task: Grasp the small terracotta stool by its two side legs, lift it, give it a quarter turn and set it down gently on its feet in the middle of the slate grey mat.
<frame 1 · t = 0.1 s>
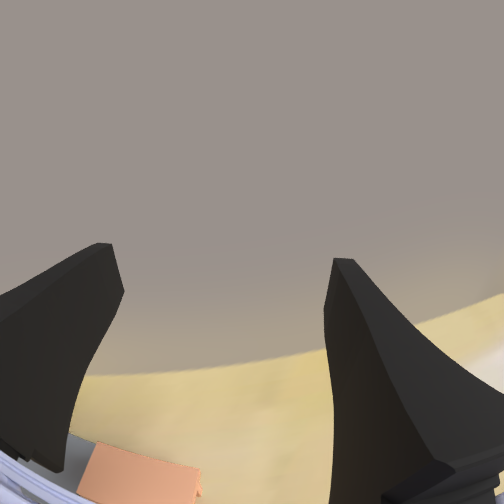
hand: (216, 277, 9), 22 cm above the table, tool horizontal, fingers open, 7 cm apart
terracotta stool: (155, 503, 17), on the table
slate mat: (27, 476, 16), on the table
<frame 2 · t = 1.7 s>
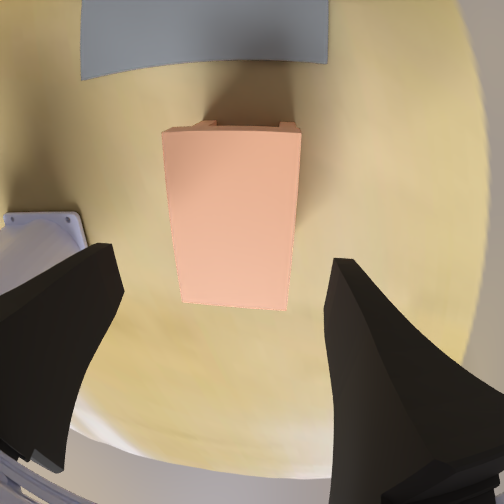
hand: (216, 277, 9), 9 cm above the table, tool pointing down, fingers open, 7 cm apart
terracotta stool: (247, 182, 17), on the table
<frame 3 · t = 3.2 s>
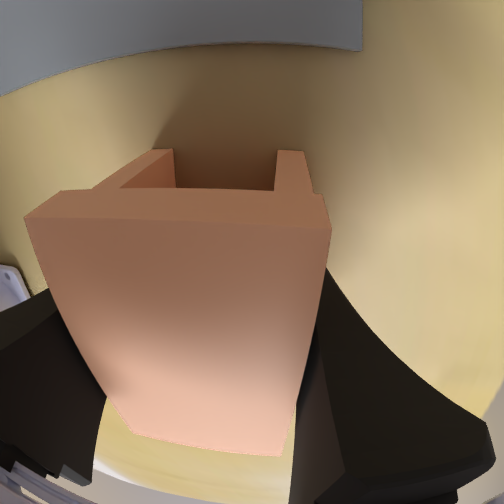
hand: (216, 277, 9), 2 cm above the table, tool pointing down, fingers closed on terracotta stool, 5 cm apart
terracotta stool: (226, 245, 11), on the table, touching gripper
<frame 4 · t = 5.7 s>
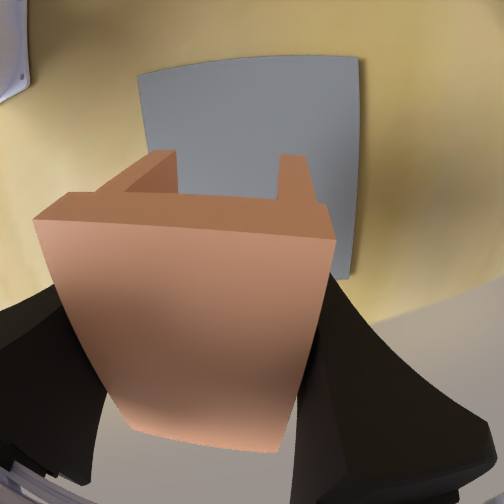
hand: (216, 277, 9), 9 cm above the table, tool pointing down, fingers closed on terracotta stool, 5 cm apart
terracotta stool: (226, 246, 11), point 7 cm above the table, touching gripper
slate mat: (253, 177, 17), on the table
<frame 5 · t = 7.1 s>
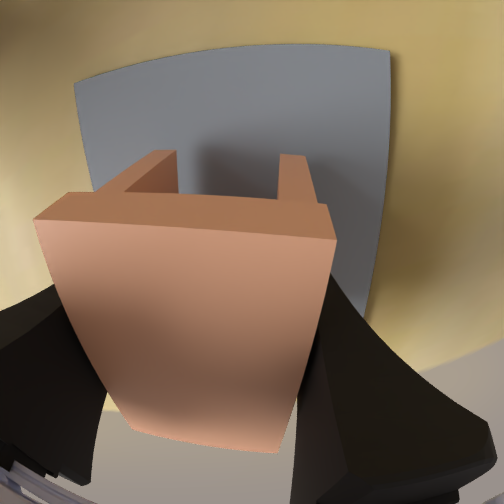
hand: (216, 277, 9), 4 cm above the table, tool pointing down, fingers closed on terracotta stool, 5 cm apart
terracotta stool: (226, 246, 11), point 2 cm above the table, touching gripper
slate mat: (233, 223, 13), on the table
when the fingers open (3 cm above the table, at t = 8.1 s): terracotta stool stays where it is, resting on slate mat.
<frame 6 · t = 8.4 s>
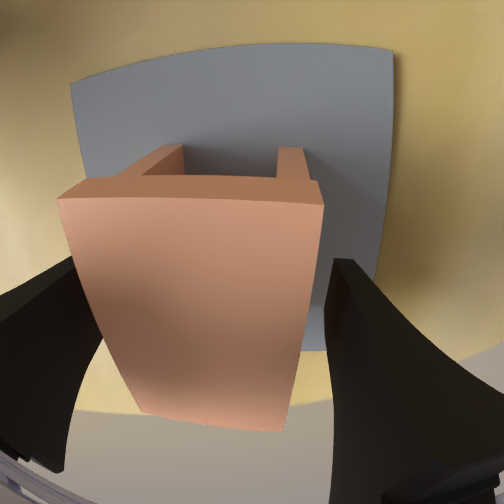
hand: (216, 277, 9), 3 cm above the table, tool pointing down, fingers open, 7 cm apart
terracotta stool: (231, 234, 12), resting on slate mat
slate mat: (232, 227, 12), on the table
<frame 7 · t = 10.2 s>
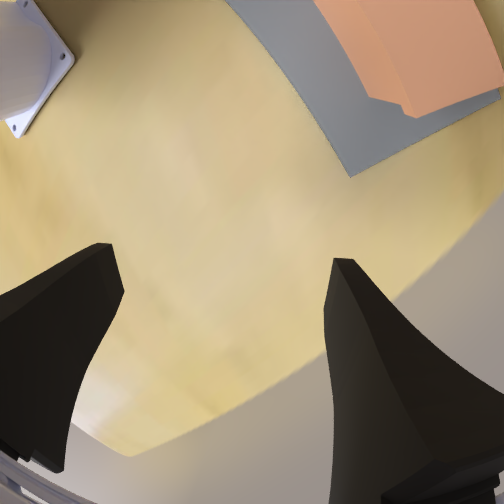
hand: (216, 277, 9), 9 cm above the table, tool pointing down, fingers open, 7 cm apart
terracotta stool: (377, 23, 11), resting on slate mat
slate mat: (373, 23, 12), on the table
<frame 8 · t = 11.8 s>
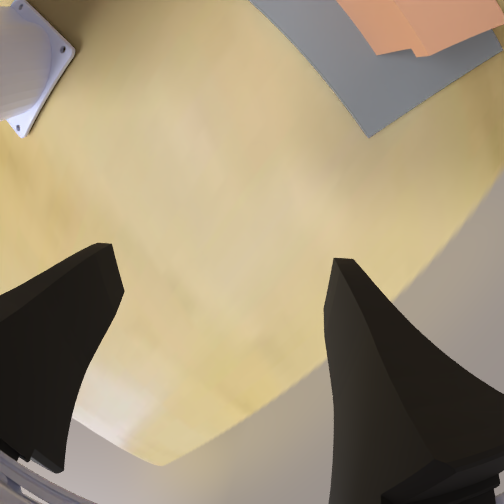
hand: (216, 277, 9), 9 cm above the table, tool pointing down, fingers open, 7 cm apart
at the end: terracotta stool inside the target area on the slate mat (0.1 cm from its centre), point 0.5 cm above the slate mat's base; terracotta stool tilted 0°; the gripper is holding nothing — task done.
